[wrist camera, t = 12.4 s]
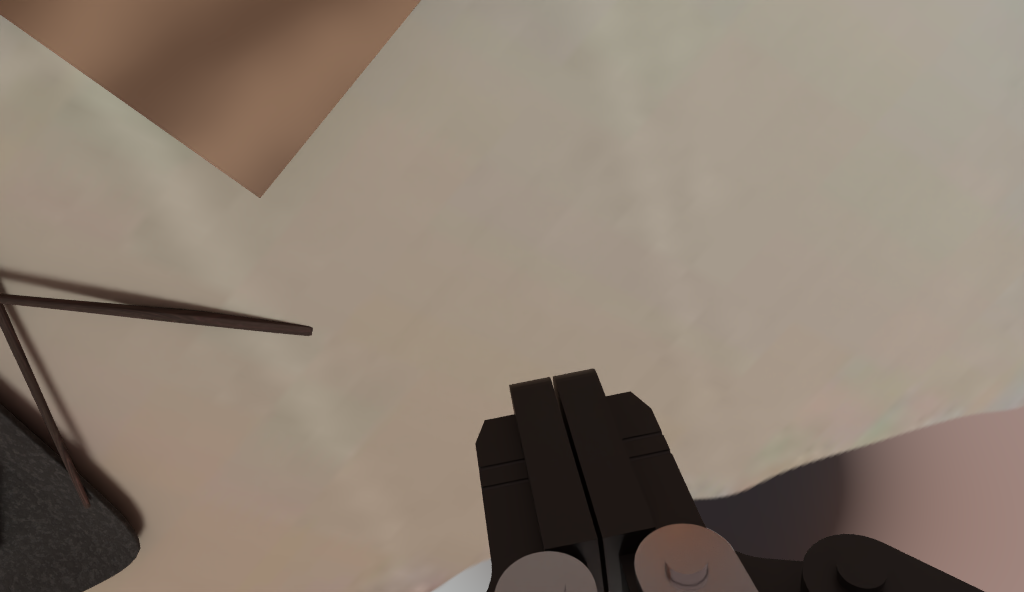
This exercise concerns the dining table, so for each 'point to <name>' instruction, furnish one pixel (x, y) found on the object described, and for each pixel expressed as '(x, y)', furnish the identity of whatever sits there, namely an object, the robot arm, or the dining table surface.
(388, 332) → the dining table surface
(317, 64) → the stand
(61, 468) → the sushi plate
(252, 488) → the dining table surface
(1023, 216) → the dining table surface
